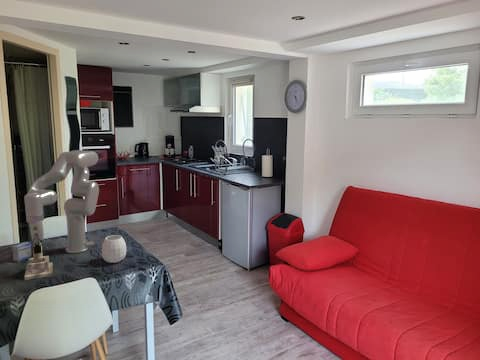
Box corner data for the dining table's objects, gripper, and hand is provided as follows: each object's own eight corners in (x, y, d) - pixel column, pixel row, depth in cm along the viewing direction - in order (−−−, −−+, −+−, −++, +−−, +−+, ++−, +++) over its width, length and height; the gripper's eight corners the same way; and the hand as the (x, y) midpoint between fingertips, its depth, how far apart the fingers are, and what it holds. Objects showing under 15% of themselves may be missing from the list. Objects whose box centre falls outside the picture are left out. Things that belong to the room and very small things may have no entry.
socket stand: (52, 264, 191) (51, 253, 190) (52, 275, 179) (51, 263, 178) (26, 268, 186) (25, 257, 184) (24, 280, 173) (23, 267, 172)
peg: (43, 267, 185) (41, 241, 182) (43, 270, 181) (41, 244, 178) (34, 268, 183) (32, 242, 180) (34, 271, 179) (32, 245, 177)
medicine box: (19, 262, 193) (17, 247, 191) (13, 260, 194) (11, 245, 193) (32, 256, 200) (30, 242, 199) (26, 255, 202) (24, 241, 200)
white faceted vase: (123, 265, 194) (122, 241, 191) (98, 265, 193) (97, 241, 190) (129, 255, 207) (128, 233, 204) (106, 255, 206) (105, 233, 203)
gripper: (43, 222, 171) (46, 255, 175) (44, 212, 186) (47, 242, 190) (25, 224, 168) (28, 257, 171) (27, 213, 183) (31, 244, 186)
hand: (38, 249), depth 180 cm, fingers open, 9 cm apart
